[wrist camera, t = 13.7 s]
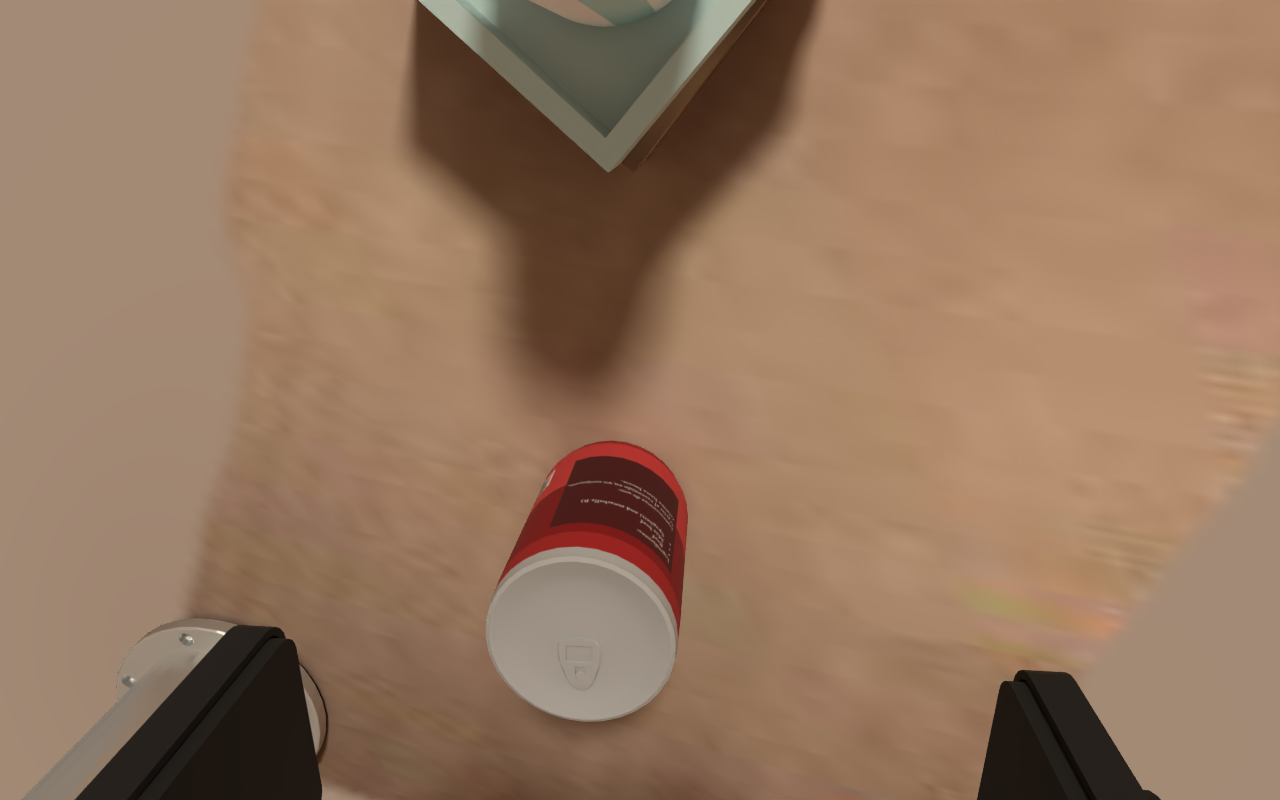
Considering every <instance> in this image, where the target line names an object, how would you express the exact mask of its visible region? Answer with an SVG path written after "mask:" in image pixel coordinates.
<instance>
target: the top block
mask: <svg viewBox="0 0 1280 800" xmlns="http://www.w3.org/2000/svg"><path fill="white" fill-rule="evenodd" d="M419 1H420V2H421V3H422V4H423V5H424V6H425V7H426V8H427V9H428V10H430V11H431V12H432V13H433V14H434V15H435V16H436V17H437V18H438V19H439V20H440V21H442V22H443V23H444V24H445V25H446V26H447V27H448V28H449V29H450V30H451V31H453V32H454V33H455V34H456V35H457V36H458V37H459V38H460V39H461V40H462V41H464V42H465V43H466V44H467V45H468V46H469V47H470V48H471V49H472V50H473V51H475V52H476V53H477V54H478V55H479V56H480V57H481V58H482V59H483V60H484V61H486V62H487V63H488V64H489V65H490V66H491V67H492V68H493V69H494V70H495V71H497V72H498V73H499V74H500V75H501V76H502V77H503V78H504V79H505V80H506V81H508V82H509V83H510V84H511V85H512V86H513V87H514V88H515V89H516V90H517V91H519V92H520V93H521V94H522V95H523V96H524V97H525V98H526V99H527V100H528V101H530V102H531V103H532V104H533V105H534V106H535V107H536V108H537V109H538V110H539V111H541V112H542V113H543V114H544V115H545V116H546V117H547V118H548V119H549V120H550V121H552V122H553V123H554V124H555V125H556V126H557V127H558V128H559V129H560V130H561V131H563V132H564V133H565V134H566V135H567V136H568V137H569V138H570V139H571V140H572V141H574V142H575V143H576V144H577V145H578V146H579V147H580V148H581V149H582V150H583V151H585V152H586V153H587V154H588V155H589V156H590V157H591V158H592V159H593V160H594V161H596V162H597V163H598V164H599V165H600V166H601V167H602V168H603V169H604V170H605V171H607V172H608V173H609V172H610V171H612V170H613V169H614V168H615V167H617V166H618V165H619V164H621V162H622V161H623V160H624V159H625V158H626V156H627V155H628V154H629V153H630V152H631V150H632V149H633V148H634V147H635V146H636V144H637V143H638V142H639V141H640V140H641V138H642V137H643V136H644V135H645V134H646V132H647V131H648V130H649V129H650V128H651V126H652V125H653V124H654V123H655V122H656V120H657V119H658V118H659V117H660V116H661V114H662V113H663V112H664V111H665V110H666V108H667V107H668V106H669V105H670V104H671V102H672V101H673V100H674V99H675V97H676V96H677V95H678V94H679V93H680V91H681V90H682V89H683V88H684V87H685V85H686V84H687V83H688V82H689V81H690V79H691V78H692V77H693V76H694V75H695V73H696V72H697V71H698V70H699V69H700V67H701V66H702V65H703V64H704V63H705V61H706V60H707V59H708V58H709V57H710V55H711V54H712V53H713V52H714V51H715V49H716V48H717V47H718V46H719V45H720V43H721V42H722V41H723V40H724V39H725V37H726V36H727V35H728V34H729V33H730V31H731V30H732V29H733V28H734V27H735V25H736V24H737V23H738V22H739V21H740V19H741V18H742V17H743V16H744V15H745V13H746V12H747V11H748V10H749V9H750V7H751V6H752V5H753V4H754V3H755V1H756V0H672V1H670V2H669V3H668V4H667V5H666V6H664V7H663V8H661V9H660V10H658V11H657V12H655V13H653V14H652V15H650V16H648V17H646V18H644V19H641V20H639V21H636V22H633V23H629V24H625V25H620V26H610V27H600V26H590V25H585V24H581V23H577V22H574V21H571V20H569V19H566V18H564V17H562V16H560V15H558V14H556V13H554V12H552V11H550V10H548V9H546V8H544V7H542V6H540V5H537V4H535V3H533V2H531V1H529V0H419Z"/></svg>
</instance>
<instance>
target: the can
mask: <svg viewBox="0 0 1280 800" xmlns="http://www.w3.org/2000/svg"><path fill="white" fill-rule="evenodd" d="M529 1H531V2H533V3H535V4H537V5H540V6H542V7H544V8H546V9H548V10H550V11H552V12H554V13H556V14H558V15H560V16H562V17H564V18H566V19H569V20H571V21H574V22H577V23H581V24H585V25H590V26H600V27H610V26H620V25H625V24H629V23H633V22H636V21H639V20H641V19H644V18H646V17H648V16H650V15H652V14H653V13H655V12H657V11H658V10H660V9H661V8H663V7H664V6H666V5H667V4H668V3H669V2H670V1H672V0H529Z"/></svg>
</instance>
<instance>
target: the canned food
mask: <svg viewBox="0 0 1280 800" xmlns="http://www.w3.org/2000/svg"><path fill="white" fill-rule="evenodd" d="M687 523H688V514H687V504H686V500H685V497H684V494H683V491H682V489H681V487H680V485H679V484H678V482H677V480H676V478H675V476H674V475H673V473H672V472H671V470H670V469H669V468H668V467H667V466H666V465H665V463H664V462H663V461H661V460H660V459H659V458H658V457H656V456H655V455H654V454H653V453H651V452H649V451H647V450H645V449H643V448H641V447H639V446H636V445H633V444H630V443H626V442H618V441H603V442H596V443H593V444H589V445H585V446H583V447H581V448H579V449H577V450H575V451H574V452H572V453H570V454H568V455H567V456H566V457H565V458H563V459H562V460H561V461H560V462H558V463H557V464H556V466H555V467H554V468H553V469H552V470H551V472H550V473H549V474H548V476H547V478H546V480H545V482H544V484H543V486H542V489H541V491H540V493H539V495H538V497H537V499H536V502H535V504H534V506H533V508H532V510H531V512H530V515H529V517H528V519H527V521H526V523H525V525H524V527H523V530H522V532H521V534H520V536H519V538H518V540H517V543H516V545H515V547H514V549H513V551H512V553H511V556H510V558H509V560H508V562H507V564H506V566H505V569H504V571H503V573H502V575H501V577H500V579H499V582H498V585H497V587H496V590H495V592H494V594H493V596H492V599H491V604H490V607H489V611H488V615H487V620H486V641H487V646H488V650H489V654H490V657H491V659H492V661H493V664H494V666H495V668H496V670H497V671H498V673H499V674H500V676H501V677H502V678H503V680H504V681H505V683H506V684H507V685H508V686H509V687H510V688H511V689H512V690H513V691H514V692H515V693H516V694H517V695H518V696H519V697H521V698H522V699H524V700H525V701H526V702H528V703H529V704H531V705H532V706H534V707H536V708H538V709H540V710H542V711H544V712H546V713H548V714H551V715H554V716H557V717H561V718H564V719H568V720H575V721H582V722H593V721H606V720H611V719H616V718H620V717H623V716H625V715H628V714H630V713H633V712H635V711H637V710H638V709H640V708H641V707H643V706H645V705H646V704H648V703H649V702H650V701H651V700H652V699H653V698H654V697H655V696H656V695H657V694H658V693H659V692H660V691H661V689H662V688H663V686H664V685H665V683H666V682H667V680H668V679H669V676H670V673H671V671H672V668H673V665H674V660H675V657H676V654H677V645H678V636H679V627H680V618H681V604H682V590H683V577H684V563H685V550H686V536H687Z"/></svg>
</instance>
